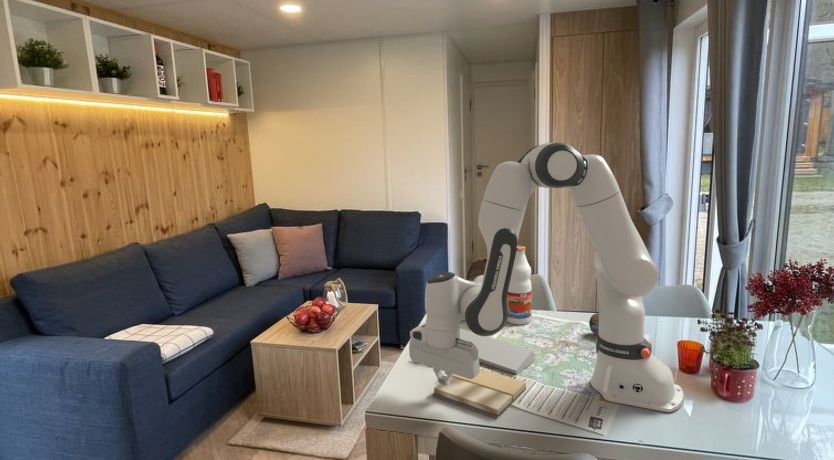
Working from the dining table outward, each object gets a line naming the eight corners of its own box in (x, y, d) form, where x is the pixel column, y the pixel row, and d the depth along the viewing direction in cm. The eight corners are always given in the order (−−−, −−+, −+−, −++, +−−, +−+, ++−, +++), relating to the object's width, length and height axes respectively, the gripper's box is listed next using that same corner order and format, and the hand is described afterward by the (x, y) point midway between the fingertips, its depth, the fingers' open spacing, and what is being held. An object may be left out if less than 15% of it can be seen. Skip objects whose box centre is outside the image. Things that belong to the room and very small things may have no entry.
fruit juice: (526, 315, 183) (527, 243, 178) (534, 324, 174) (535, 249, 169) (502, 316, 183) (502, 244, 177) (509, 326, 174) (509, 250, 168)
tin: (588, 334, 164) (589, 310, 163) (593, 331, 166) (594, 308, 165) (631, 347, 153) (632, 322, 151) (636, 344, 155) (637, 319, 153)
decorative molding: (518, 383, 139) (535, 363, 146) (516, 370, 138) (533, 350, 144) (429, 351, 162) (447, 335, 169) (426, 340, 160) (444, 323, 167)
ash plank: (511, 401, 124) (511, 396, 123) (497, 415, 118) (497, 409, 117) (449, 381, 135) (449, 376, 135) (434, 393, 129) (434, 387, 129)
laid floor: (526, 389, 130) (526, 381, 130) (496, 419, 117) (496, 411, 117) (465, 371, 142) (465, 364, 141) (432, 396, 128) (432, 389, 128)
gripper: (484, 339, 121) (484, 389, 123) (419, 322, 133) (420, 369, 136) (471, 348, 116) (471, 400, 119) (404, 330, 128) (406, 378, 131)
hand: (443, 383), depth 127 cm, fingers closed
